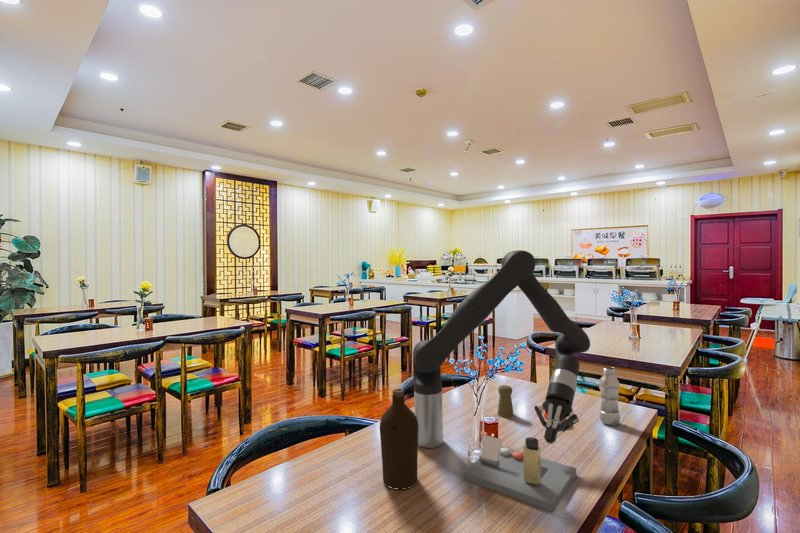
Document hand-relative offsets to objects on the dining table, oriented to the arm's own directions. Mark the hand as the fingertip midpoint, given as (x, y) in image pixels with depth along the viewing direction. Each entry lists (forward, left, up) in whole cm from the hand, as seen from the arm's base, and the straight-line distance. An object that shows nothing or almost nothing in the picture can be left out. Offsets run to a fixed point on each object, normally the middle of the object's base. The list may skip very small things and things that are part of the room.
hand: (549, 442), depth 114 cm
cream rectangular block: (-17, -5, -6) cm, 18 cm away
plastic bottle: (+25, +36, -8) cm, 45 cm away
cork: (-11, +38, -8) cm, 41 cm away
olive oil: (-40, -14, -8) cm, 43 cm away
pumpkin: (+6, +34, -8) cm, 36 cm away
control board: (-8, -6, -8) cm, 13 cm away
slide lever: (-6, -11, -6) cm, 14 cm away
